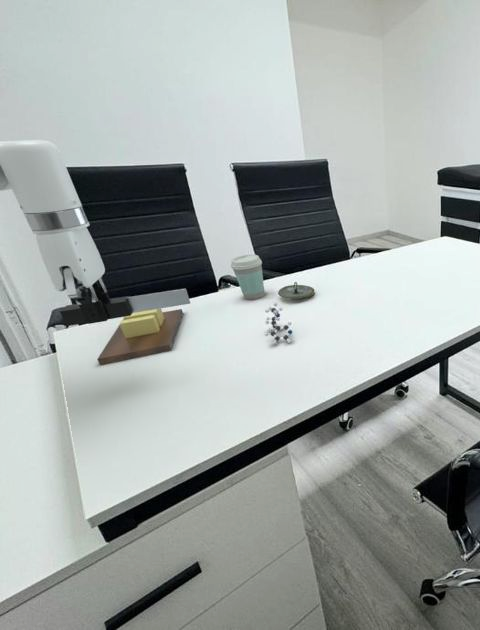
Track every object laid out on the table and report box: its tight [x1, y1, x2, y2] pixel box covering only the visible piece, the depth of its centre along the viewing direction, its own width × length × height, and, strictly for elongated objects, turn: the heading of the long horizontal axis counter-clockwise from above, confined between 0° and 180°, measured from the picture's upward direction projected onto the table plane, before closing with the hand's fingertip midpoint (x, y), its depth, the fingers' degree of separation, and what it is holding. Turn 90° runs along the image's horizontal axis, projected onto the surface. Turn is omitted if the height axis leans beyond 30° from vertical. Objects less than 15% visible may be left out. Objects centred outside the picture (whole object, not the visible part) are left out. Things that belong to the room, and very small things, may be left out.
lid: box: [277, 281, 315, 300], centre depth 115 cm, size 11×10×5 cm
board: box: [96, 308, 184, 366], centre depth 97 cm, size 14×22×2 cm, turn 22°
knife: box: [59, 288, 191, 327], centre depth 74 cm, size 20×3×3 cm, turn 112°
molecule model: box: [264, 302, 293, 346], centre depth 93 cm, size 6×12×8 cm, turn 31°
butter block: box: [122, 308, 164, 326], centre depth 99 cm, size 7×5×4 cm
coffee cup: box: [230, 254, 265, 301], centre depth 116 cm, size 8×8×12 cm
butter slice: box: [119, 315, 160, 338], centre depth 94 cm, size 7×2×4 cm, turn 112°
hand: (101, 316), depth 73 cm, fingers closed on knife, 3 cm apart
